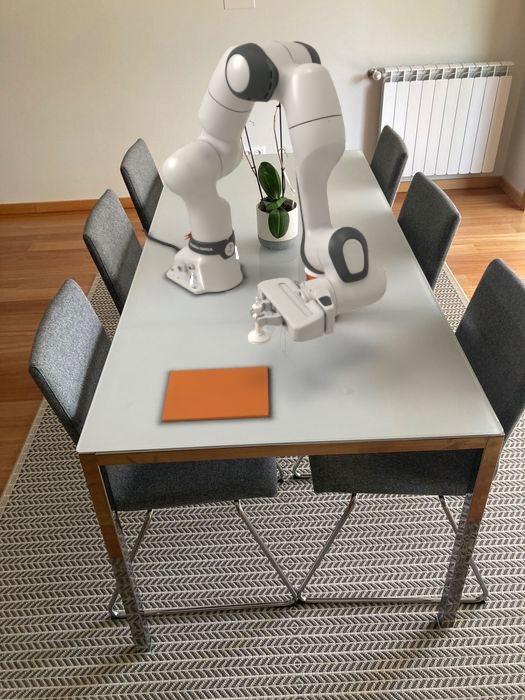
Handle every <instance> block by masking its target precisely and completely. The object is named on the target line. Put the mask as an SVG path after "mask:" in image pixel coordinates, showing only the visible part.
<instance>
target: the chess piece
mask: <svg viewBox="0 0 525 700" xmlns="http://www.w3.org/2000/svg"><path fill="white" fill-rule="evenodd" d="M254 299H255V303H253V304H252V306H251V307H252V308H253V310H254V312H255V313H254V314H253V317H252V319H255V320H256V316H258V315H261V314H263V312H262V313H260V312H261V309H262V304H260V302H259V297H258V296H255V298H254ZM254 326H255V327H254V329H252V330H251V331H250V332H249V333H248V335H247V341H248V342H249V343H250V344H251V345H255V346H263V345H265V344H268V343H269V342H270V341H271V340H272V335H271V332H270V331H269V330H268V329H266V328H263V326H259V325H258V324H257V323H256V322H255V325H254Z"/></svg>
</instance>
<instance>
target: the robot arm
mask: <svg viewBox="0 0 525 700" xmlns="http://www.w3.org/2000/svg"><path fill="white" fill-rule="evenodd" d="M336 89H337V88H336V87H335V83H334V80H333V79H332V75H331V73H330V71H329V70H328V68H327V67H326V66H325V65H322V61H321V58H320V55H319V52H318V51H317V50H316V48H314V47H313V46H312V45H311V44H308V43H305V42H302V41H299V40H297V41H295V40H294V41H288V40H270V41H262V42H248V43H247V42H246V43H244V44H235V45H231V46H230V47H228V49H226V50H225V52H224V53H223V55H222V56H221V58H220V59H219V62H218V63H217V65H216V67H215V69H214V71H213V73H212V75H211V77H210V80H209V82H208V84H207V88H206V91H205V93H204V96H203V98H202V101H201V104H200V106H199V110H198V111H197V112H198V113H197V120H198V122H199V124H200V126H201V132H200V134H199V135H198V136H197V138H195V140H193V141H192V142H190V143H188V144H186V145H183V146H182V147H180V148H177V149H176V150H175V151H173V152H172V153H171V154H170V155H169V156H168V157H167V158H166V159H164V161H163V163H162V165H161V177H162V180H163V182H164V185H165V186H166V187H167V189H168V190H169V191H170V192H172V193H173V194H174V195H176V196H178V197H179V198H181V200H182V202H183V204H184V205H185V207H186V211H187V215H188V220H189V226H190V227H189V228H190V232H189V233H188V234H185V235H184V240H185V241H186V240H188V244H186V245H185V246H184V247H182V248H181V249H180V248H179V247H178V246H176V245H174V244H172V243H169V242H165V241H162V240H160V239H157V238H155V237H153V236H151V235H150V234H149V233H148V231H147V229H145V228H143V229H142V231H141V232H142V233H144V235H145V236H146V237H147V238H148V239H150V240H152V241H154V242H156V243H159V244H162V245H164V246H168V247H171V248H173V249H175V250H176V251H177V253H176V254H175V255H174V258H173V265H172V266H171V267H170V268H169V269H168V270H167V272H166V277H167V278H168V279H169V280H171V281H172V282H174V283H176V284H178V285H179V286H181V287H183V288H184V289H186V290H187V291H189V292H191V293H192V294H194V295H201V294H206V293H220V292H224V291H228V290H230V289H234V288H235V287H237V286H238V285H240V284H241V283H242V282H243V279H244V275H243V272H242V270H241V264H240V262H239V254H238V249H237V246H236V236H235V235H236V234H235V230H234V229H233V221H232V209H231V205H230V203H229V201H228V200H226V199H225V198H224V197H223V196H220V195H219V192H218V189H217V183H218V182H219V181H220V180H221V179H223V178H225V177H227V176H229V175H231V174H232V172H234V171H235V169H237V167H238V166H239V165H240V164H241V163H242V161H243V159H244V147H243V144H242V142H241V139H242V134H243V131H244V129H245V128H246V126H247V125H246V124H247V122H248V120H249V118H250V115H251V113H252V111H253V109H254V106H255V104H256V103H268V102H269V101H276V102H279V103H280V104H281V106H282V108H283V110H284V113H285V117H286V125H287V128H288V132H289V138H290V143H291V149H292V154H293V160H294V170H295V178H296V179H295V180H296V181H295V182H296V189H297V190H296V191H297V197H298V204H299V205H298V206H299V211H300V218H301V223H302V224H301V227H302V235H301V241H300V246H299V247H300V249H299V253H300V258H301V261H302V263H303V265H304V267H307V268H308V269H309V270H310V271H311V272H313V273H316V274H325V275H324V276H323V277H319V278H315V279H312V280H308V281H307V280H304V281H301V282H298V280H296V279H295V280H293V279H291V278H289V277H278V278H270V279H266V280H262V281H260V282H259V283H258V284H257V297H258V299H260V302H259V303H260V304H262V309H261V312H260V313H262V314H261V315H258V316H256V319H255V324H256V323H257V324H258V325H259V326H262V327H263V326H264V327H265V326H273V327H274V326H275V327H276V326H277V327H278V326H281V327H282V328H283V330H284V331H285V332H286V333H287V334H288V335H289V337H290V338H291V339H292V340H293V341H294V342H298V343H303V342H307V341H312V340H315V339H317V338H320V337H322V336H324V334H325V335H331V334H333V333H334V332H335V324H336V316H338V315H340V314H342V313H351V312H355V311H358V310H361V309H363V308H367V307H369V306H371V305H373V304H375V303H377V302H378V301H380V300H382V298H383V297H384V295H385V294H386V292H387V291H386V290H387V284H388V283H387V276H386V273H385V271H384V268H382V266H381V265H379V264H378V263H377V262H376V261H375V259H374V258H373V256H372V254H371V252H370V250H369V247H368V245H369V244H368V241H367V239H366V237H365V235H364V234H363V233H362V232H361V231H360V230H359V229H358V228H355V227H352V226H340V227H339V226H338V227H337V226H336V227H334V226H333V224H332V221H331V215H330V206H329V198H328V190H327V189H328V181H329V178H330V176H331V174H332V171H333V170H334V168H336V166H337V164H339V162H340V160H341V159H342V157H343V156H344V153H345V150H346V141H347V140H346V126H345V122H344V117H343V112H342V108H341V104H340V99H339V95H338V92H337V90H336ZM263 312H265V313H269V312H270V313H271V314H272V315H265V314H264V313H263ZM254 313H255V312H254V310H253V308H252V306H251V307H250V308H249V315H250V316H251V318H253V314H254Z"/></svg>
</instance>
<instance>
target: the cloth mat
mask: <svg viewBox="0 0 525 700" xmlns="http://www.w3.org/2000/svg"><path fill="white" fill-rule="evenodd" d="M268 370H269V369H268V366H248V367H247V366H246V367H230V368H229V367H227V368H208V369H188V370H187V369H185V370H171V371H170V373H169V378H168V383H167V390H166V394H165V400H164V405H163V411H162V416H161V422H186V421H187V422H188V421H205V420H206V421H207V420H208V421H209V420H227V419H247V418H248V419H249V418H250V419H251V418H269V417H270V408H269V405H270V404H269V372H268Z"/></svg>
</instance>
